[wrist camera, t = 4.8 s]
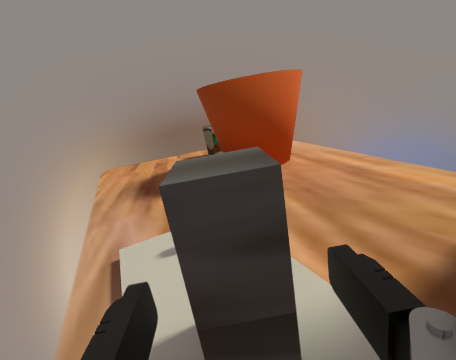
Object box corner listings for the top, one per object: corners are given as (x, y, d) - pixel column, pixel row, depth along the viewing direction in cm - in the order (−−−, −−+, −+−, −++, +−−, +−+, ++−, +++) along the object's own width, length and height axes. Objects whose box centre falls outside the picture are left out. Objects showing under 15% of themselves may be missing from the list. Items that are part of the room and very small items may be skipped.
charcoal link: (212, 316, 16) (176, 161, 13) (278, 303, 16) (257, 146, 13) (213, 392, 12) (158, 186, 9) (303, 374, 12) (280, 164, 9)
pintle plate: (122, 258, 28) (111, 226, 27) (228, 219, 33) (223, 190, 32) (155, 676, 7) (108, 610, 5) (437, 379, 12) (445, 313, 11)
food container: (234, 154, 78) (229, 123, 75) (216, 158, 76) (211, 127, 74) (223, 150, 89) (218, 123, 87) (207, 154, 88) (202, 126, 85)
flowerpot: (208, 161, 73) (195, 94, 68) (286, 146, 76) (279, 80, 70) (216, 184, 50) (197, 83, 44) (329, 161, 52) (324, 63, 46)
